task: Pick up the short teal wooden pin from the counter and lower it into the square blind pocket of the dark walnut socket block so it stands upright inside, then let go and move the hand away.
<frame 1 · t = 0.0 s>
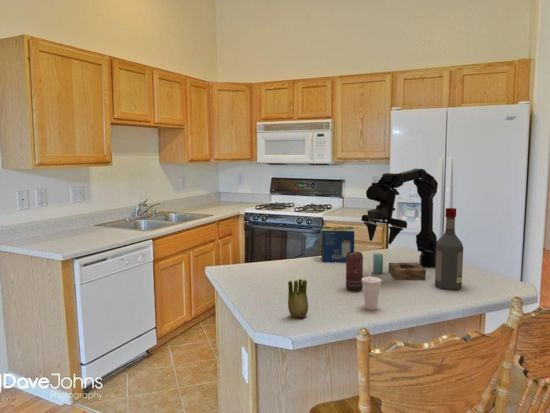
hand: (379, 242, 164), 15 cm above the counter, tool pointing down, fingers open, 9 cm apart
fennel bulb: (298, 317, 129), on the counter
socket block: (406, 275, 171), on the counter
pin: (377, 272, 176), on the counter
smoothie: (370, 308, 136), on the counter
protein box: (337, 260, 198), on the counter
can: (354, 289, 155), on the counter
liquor: (447, 287, 156), on the counter
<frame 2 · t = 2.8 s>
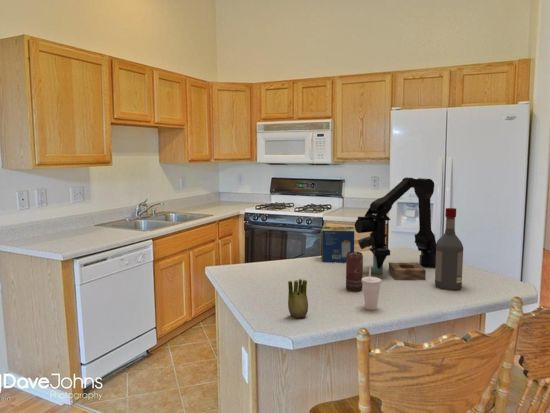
hand: (377, 267, 175), 3 cm above the counter, tool pointing down, fingers closed on pin, 4 cm apart
pin: (377, 272, 176), on the counter, touching gripper
everything else where it was.
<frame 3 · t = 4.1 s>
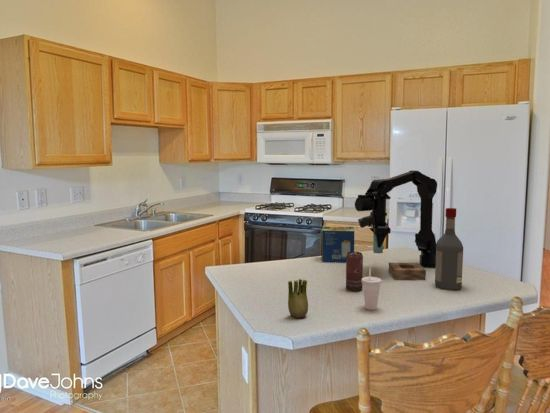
hand: (378, 246, 174), 12 cm above the counter, tool pointing down, fingers closed on pin, 4 cm apart
pin: (377, 252, 174), point 9 cm above the counter, touching gripper
everything else where it was.
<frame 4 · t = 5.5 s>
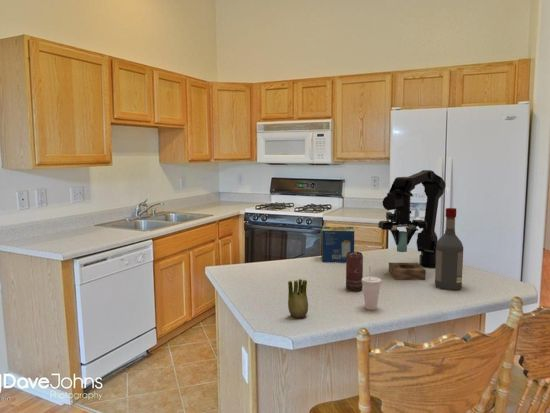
hand: (402, 245, 170), 13 cm above the counter, tool pointing down, fingers closed on pin, 4 cm apart
pin: (401, 251, 171), point 10 cm above the counter, touching gripper
everything else where it was.
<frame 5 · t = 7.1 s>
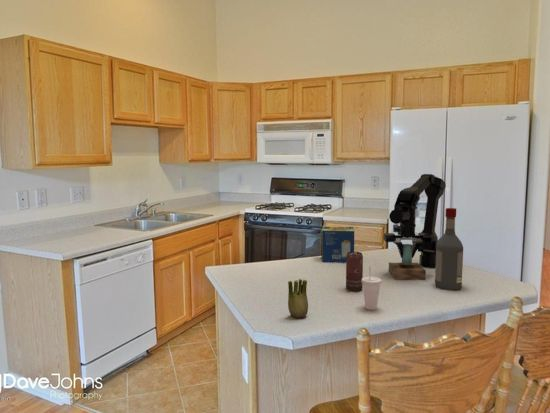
hand: (406, 257, 170), 8 cm above the counter, tool pointing down, fingers closed on pin, 4 cm apart
pin: (406, 263, 170), point 5 cm above the counter, touching gripper
everything else where it was.
when the fingers open (5 cm above the counter, at t = 8.5 s): pin drops 1 cm, resting on socket block.
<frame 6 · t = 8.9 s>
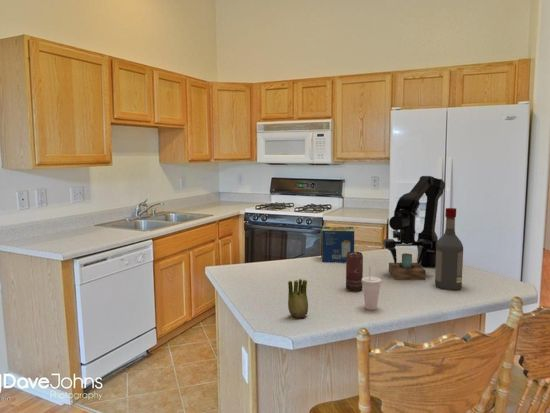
hand: (406, 264, 170), 5 cm above the counter, tool pointing down, fingers open, 9 cm apart
pin: (406, 273, 171), point 1 cm above the counter, touching socket block
everything else where it was.
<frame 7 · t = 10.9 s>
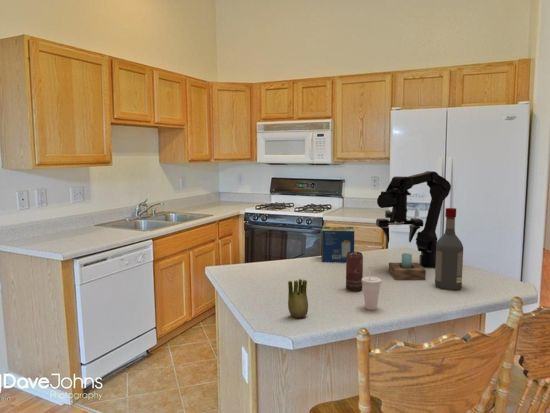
hand: (399, 242, 175), 13 cm above the counter, tool pointing down, fingers open, 9 cm apart
nothing on the counter moved.
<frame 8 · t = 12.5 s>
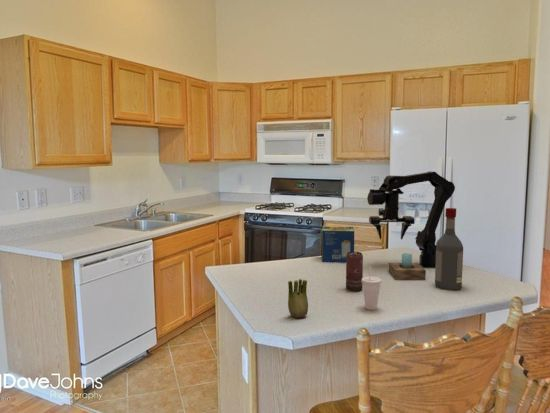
hand: (390, 239, 182), 13 cm above the counter, tool pointing down, fingers open, 9 cm apart
nothing on the counter moved.
at the end: pin 0.0 cm off-centre on the socket block, point 1.0 cm above the socket block's base; pin tilted 1°; the gripper is holding nothing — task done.
